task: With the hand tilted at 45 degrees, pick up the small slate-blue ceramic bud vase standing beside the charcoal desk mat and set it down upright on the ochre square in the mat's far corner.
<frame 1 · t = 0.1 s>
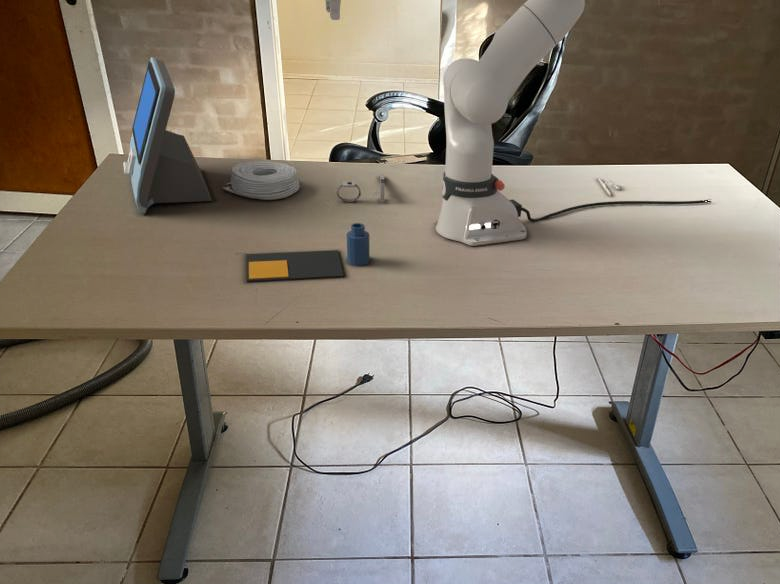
hand: (332, 15, 149), 48 cm above the table, tool pointing down, fingers open, 8 cm apart
picture light: (610, 188, 216), on the table
vase: (358, 261, 164), on the table
desk mat: (294, 266, 160), on the table
touchscreen device: (168, 189, 194), on the table
caliper: (382, 190, 203), on the table
cable: (266, 190, 197), on the table
wristwatch: (349, 202, 194), on the table
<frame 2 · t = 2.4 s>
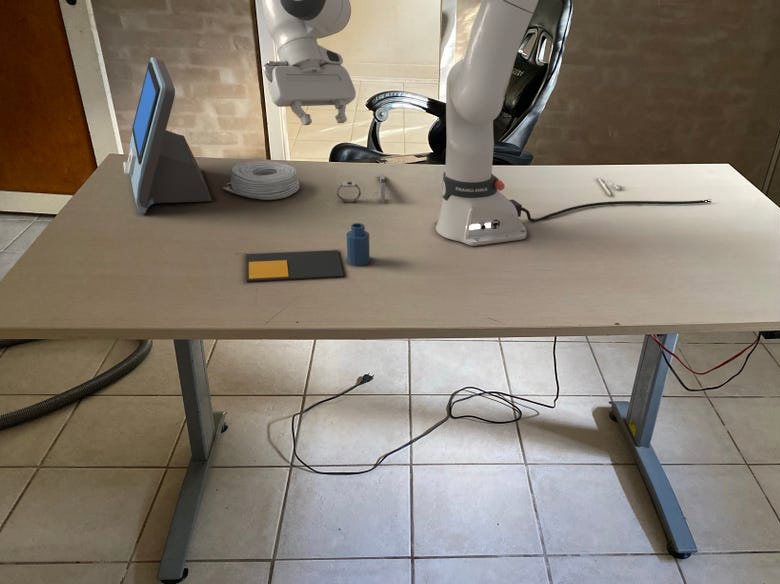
hand: (325, 123, 157), 27 cm above the table, tool tilted 40°, fingers open, 8 cm apart
nothing on the table moved.
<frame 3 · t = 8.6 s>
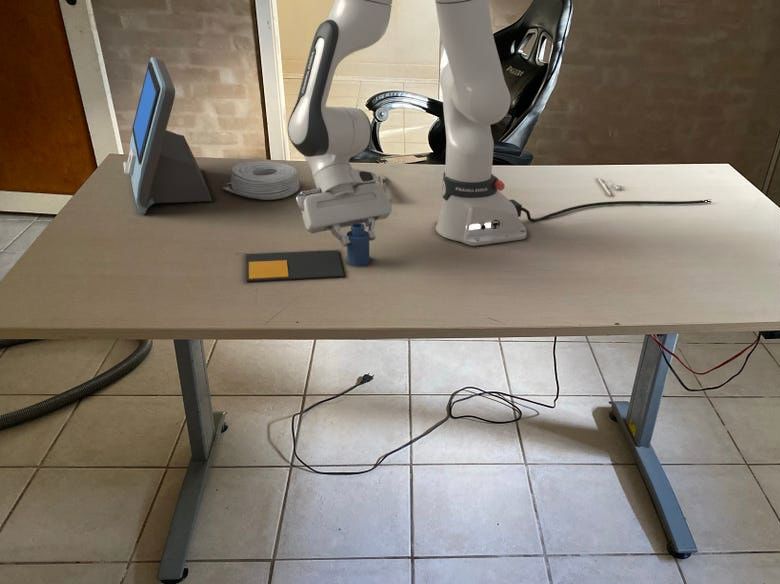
hand: (359, 242, 161), 5 cm above the table, tool tilted 45°, fingers closed on vase, 5 cm apart
vase: (358, 261, 164), on the table, touching gripper
everything else where it was.
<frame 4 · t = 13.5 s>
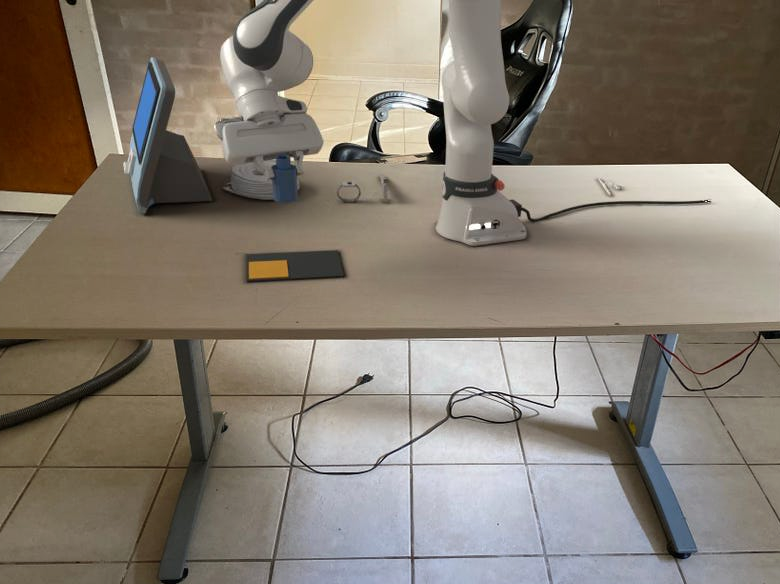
hand: (285, 176, 147), 21 cm above the table, tool tilted 45°, fingers closed on vase, 5 cm apart
vase: (285, 198, 150), point 16 cm above the table, touching gripper
everything else where it was.
when the fingers open (5 cm above the table, at t = 18.6 s): vase stays where it is, resting on desk mat.
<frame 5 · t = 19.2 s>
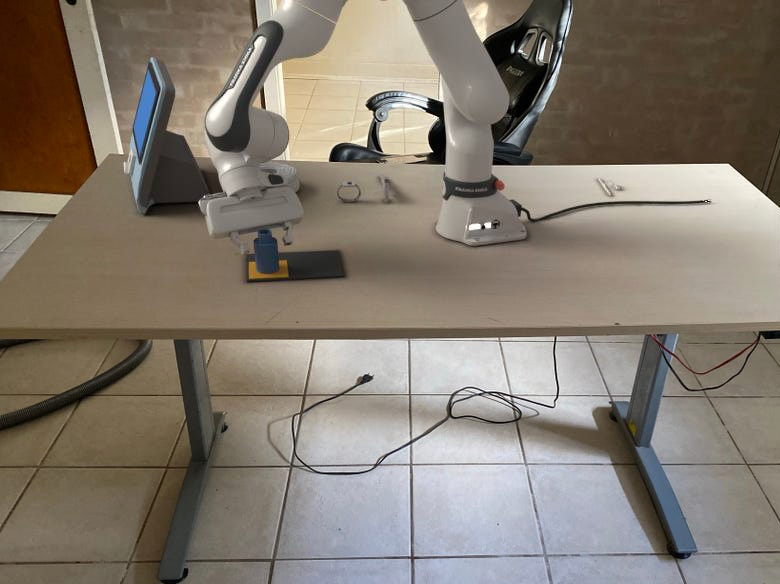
hand: (267, 248, 153), 6 cm above the table, tool tilted 45°, fingers open, 8 cm apart
vase: (267, 269, 156), point 1 cm above the table, touching desk mat
everything else where it was.
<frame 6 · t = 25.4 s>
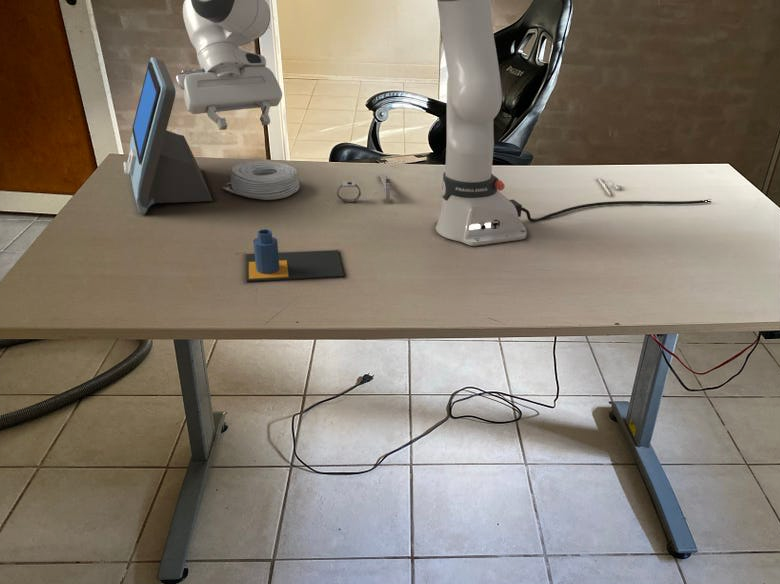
hand: (245, 125, 155), 26 cm above the table, tool tilted 45°, fingers open, 8 cm apart
nothing on the table moved.
at the end: vase 0.1 cm from the target spot, point 0.6 cm above the table; vase tilted 0°; vase touching desk mat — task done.
